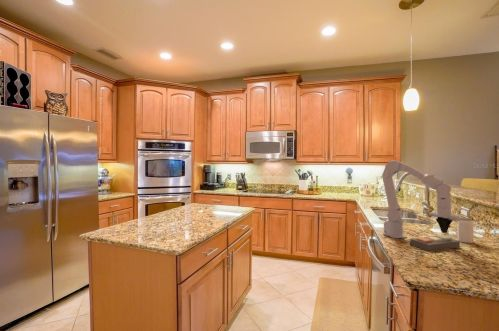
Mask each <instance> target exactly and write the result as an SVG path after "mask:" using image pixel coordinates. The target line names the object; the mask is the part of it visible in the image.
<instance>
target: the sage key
mask: <svg viewBox="0 0 499 331" xmlns="http://www.w3.org/2000/svg"><path fill="white" fill-rule="evenodd" d="M436 236H437V238H440V239H442V240H444V241H449V240H452V239H453V238H452V237H449V236H446V235H436Z"/></svg>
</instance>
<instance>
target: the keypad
mask: <svg viewBox="0 0 499 331" xmlns="http://www.w3.org/2000/svg"><path fill="white" fill-rule="evenodd" d="M437 236H438V235H436V236H432V237H437ZM427 237H428V236H426V237H425V236H424V237H422V238H427ZM417 238H418V237H417ZM417 238H416V237H415V238H414V237H413V238H410V239H409V245H411V246H413V247H415V248H419V249H421V250H424V251H427V252H432V251H441V250H448V249H449V250H450V249H456V248H460V246H461V244H460V243H461V242H460V241H458V239H457V240H456V239H454V238H452V240H449V241H444V240H442V241H440V242H434V241H432V242H431V243H423V242H420V241H417Z"/></svg>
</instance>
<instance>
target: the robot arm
mask: <svg viewBox="0 0 499 331" xmlns="http://www.w3.org/2000/svg"><path fill="white" fill-rule="evenodd" d="M398 172H406V173H408V174H410V175H412V176H413V177H416V178H417V179H419V180H420V181H421V183H422V185H425V186H427V187H429V188H430V189H431V190H435V192H436V194H437V195H436V212H431V211H430V212H428V216H429V217H435V221H436V222H437V224H438V226H439V229H440V232H441V233H442V234H446V233H448V230H449V228H450V225H451V224H452V223H453V222H454V221H455V222H459V221H461V218H462V217H459V216H455V215H453V214H452V198H451V190H452V186H451V185H450V184H449V183H447V182H444V180H443V179H441V180H440V179H439V178H437V177H435V174H434V175H433V174H430V173H429V174H428V173H427V174H424V173H422V172H421V171H419V170H417V169H416V168H414V167H412V166H411V165H410V164H407V163H404V162H402V161H400V160H394V159H393V160H389V161H388V162H386V164H385V167H384V169H383V171H382V175H381V177H382V182H383V186H384V191H385V194H386V199H387V200H386V201H387V204H388V205H387V213H386V215H387V217H386V218H387V219H386V220H384V222H383V233H382V235H385V236H387V237H390V238H393V239H404V238H407V235H406V236H405V235H404V233H403V232H404V229H403V228H404V226H403V225H404V224H403V223H404V221H403V219H402V218H403V217H404V211H402V210H401V206H400V205H399V202H398V197H397V193H396V189H395V182H394V178H393V177H394V176H395V175H396V174H397V173H398Z"/></svg>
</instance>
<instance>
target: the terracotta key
mask: <svg viewBox="0 0 499 331" xmlns="http://www.w3.org/2000/svg"><path fill="white" fill-rule="evenodd" d="M417 241H420V242H423V243H431V242H432V240H430V239H427V238H423V237H417Z"/></svg>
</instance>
